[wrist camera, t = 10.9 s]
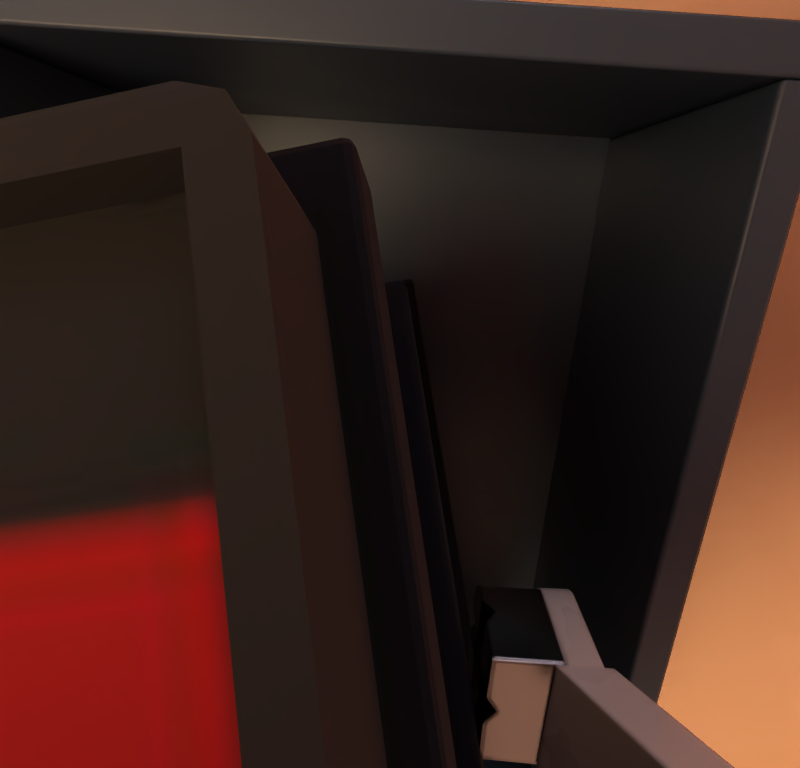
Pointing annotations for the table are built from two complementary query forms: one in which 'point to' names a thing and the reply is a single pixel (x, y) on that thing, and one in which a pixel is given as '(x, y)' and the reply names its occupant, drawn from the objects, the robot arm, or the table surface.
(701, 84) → the box
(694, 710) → the table surface
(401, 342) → the magazine
